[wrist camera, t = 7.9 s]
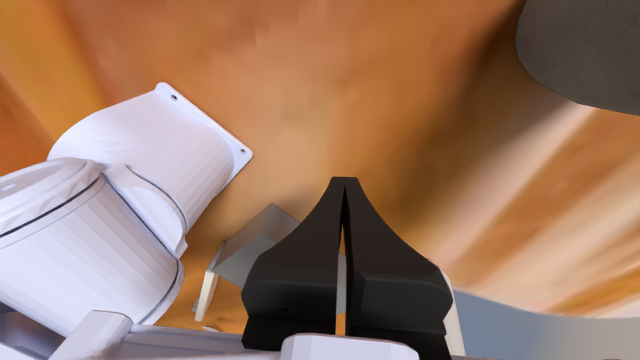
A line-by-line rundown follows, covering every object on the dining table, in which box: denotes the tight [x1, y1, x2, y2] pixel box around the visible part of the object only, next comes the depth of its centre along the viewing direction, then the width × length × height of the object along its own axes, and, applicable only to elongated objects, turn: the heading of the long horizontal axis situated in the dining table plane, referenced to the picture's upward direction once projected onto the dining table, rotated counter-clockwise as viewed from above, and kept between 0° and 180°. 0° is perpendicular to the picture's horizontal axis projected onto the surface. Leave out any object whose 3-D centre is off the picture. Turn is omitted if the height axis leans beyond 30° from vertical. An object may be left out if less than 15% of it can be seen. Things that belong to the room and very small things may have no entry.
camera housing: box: [211, 203, 346, 315], centre depth 29 cm, size 16×10×5 cm, turn 46°
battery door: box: [191, 241, 226, 322], centre depth 33 cm, size 16×2×4 cm, turn 157°
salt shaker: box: [426, 258, 466, 356], centre depth 25 cm, size 6×6×13 cm
